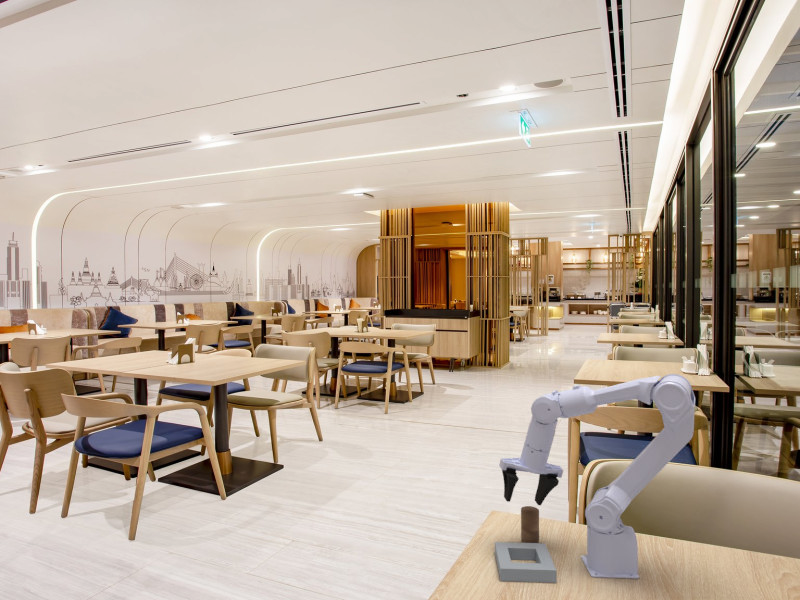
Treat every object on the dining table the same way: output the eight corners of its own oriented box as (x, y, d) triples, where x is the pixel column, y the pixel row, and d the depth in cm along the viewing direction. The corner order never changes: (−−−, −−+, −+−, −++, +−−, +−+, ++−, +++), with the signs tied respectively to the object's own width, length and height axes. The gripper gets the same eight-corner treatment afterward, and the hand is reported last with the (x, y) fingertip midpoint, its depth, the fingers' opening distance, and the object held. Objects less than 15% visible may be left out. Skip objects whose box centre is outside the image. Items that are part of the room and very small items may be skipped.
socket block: (545, 554, 114) (545, 543, 114) (556, 582, 103) (556, 570, 103) (494, 553, 114) (494, 541, 114) (500, 580, 103) (500, 568, 103)
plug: (537, 540, 120) (537, 506, 120) (540, 549, 116) (540, 513, 116) (519, 539, 120) (519, 505, 120) (522, 548, 116) (522, 513, 116)
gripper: (558, 442, 121) (544, 494, 123) (501, 433, 118) (487, 487, 120) (573, 456, 114) (557, 512, 116) (512, 448, 111) (497, 505, 113)
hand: (522, 501), depth 117 cm, fingers open, 7 cm apart
